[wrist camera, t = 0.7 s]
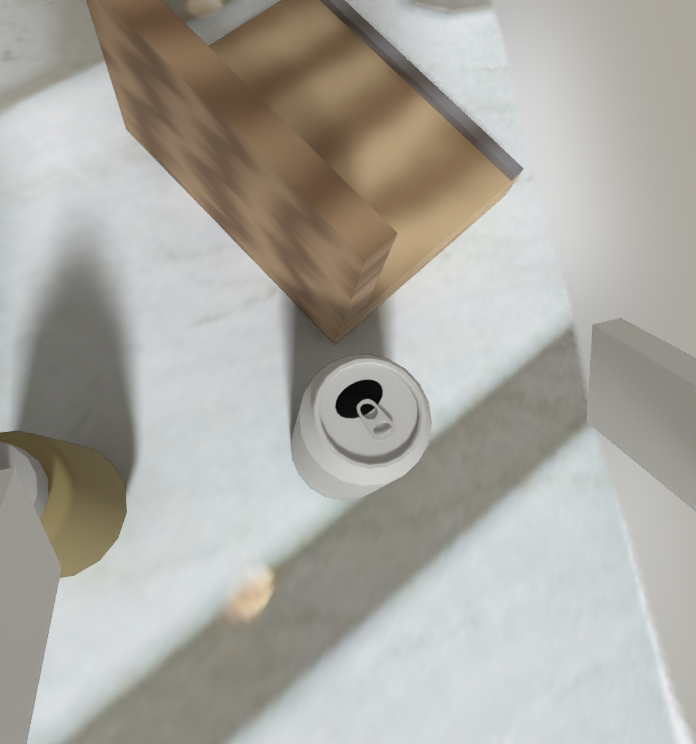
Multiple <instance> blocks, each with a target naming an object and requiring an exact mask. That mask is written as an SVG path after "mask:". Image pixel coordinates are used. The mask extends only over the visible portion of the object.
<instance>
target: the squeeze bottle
mask: <svg viewBox="0 0 696 744" xmlns="http://www.w3.org/2000/svg"><path fill="white" fill-rule="evenodd" d="M12 467H16V470H17V472H18V474H19V476H20V478H21V480H22V482H23V485H24V487H25V489H26V491H27V493H28V495H29V498H30V500H31V502H32V504H33V506H34V508H35V511H36V513H37V515H38V517H39V519H40V521H41V524H42V526H43V528H44V530H45V532H46V534H47V536H48V539H49V541H50V543H51V545H52V547H53V549H54V552H55V554H56V556H57V558H58V560H59V562H60V565H61V567H62V568H61V573H60V578H62V577H68V576H74V575H76V574H78V573H79V572H81V571H83V570H84V569H86V568H88V567H90V566H91V565H93V564H95V563H96V562H98V561H100V559H101V558H102V557H103V556H104V555H105V553H106V552H107V551H108V550H109V549H110V547H111V546H112V545H113V544H114V543H115V541H116V540H117V539H118V537H119V534H120V531H121V528H122V525H123V522H124V519H125V516H126V513H127V509H126V494H125V485H124V484H123V482H122V480H121V478H120V476H119V474H118V472H117V470H116V468H115V467H114V465H113V464H112V463H111V462H110V461H108V460H107V459H106V458H104V457H103V456H102V455H101V454H99V453H98V452H97V451H95V450H94V449H91V448H87V447H83V446H79V445H76V444H72V443H68V442H63V441H59V440H55V439H51V438H47V437H43V436H38V435H34V434H30V433H26V432H22V431H11V432H2V433H0V470H4V469H8V468H12Z"/></svg>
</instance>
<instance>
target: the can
mask: <svg viewBox="0 0 696 744" xmlns="http://www.w3.org/2000/svg"><path fill="white" fill-rule="evenodd" d="M431 424H432V421H431V414H430V408H429V402H428V400H427V398H426V396H425V394H424V392H423V390H422V388H421V386H420V384H419V383H418V382H417V381H416V380H415V379H414V377H413V376H412V375H411V374H410V373H409V372H408V371H407V370H406V369H405V368H403V367H401V366H399V365H398V364H396V363H394V362H393V361H391V360H389V359H386V358H382V357H378V356H374V355H369V354H365V355H351V356H346V357H344V358H341V359H339V360H336V361H334V362H331V363H329V364H328V365H327V366H326V367H324V368H323V369H322V370H321V371H320V372H319V373H317V374H316V375H315V376H314V377H313V379H312V381H311V382H310V384H309V386H308V387H307V389H306V390H305V392H304V394H303V398H302V401H301V405H300V409H299V412H298V416H297V419H296V423H295V427H294V431H293V436H292V440H291V449H292V460H293V462H294V464H295V467H296V469H297V471H298V473H299V475H300V477H301V478H302V479H303V480H304V481H305V482H306V483H307V485H308V486H309V487H310V488H311V489H313V490H315V491H317V492H318V493H320V494H322V495H323V496H325V497H329V498H334V499H338V500H350V499H359V498H361V497H363V496H365V495H368V494H370V493H372V492H374V491H376V490H378V489H379V488H381V487H383V486H385V485H387V484H389V483H390V482H392V481H394V480H396V479H398V478H399V477H401V476H403V475H405V474H406V473H407V472H408V471H409V470H410V469H411V468H412V467H413V466H414V465H415V464H416V463H417V462H418V461H419V460H420V458H421V456H422V454H423V452H424V450H425V448H426V447H427V445H428V443H429V437H430V430H431Z"/></svg>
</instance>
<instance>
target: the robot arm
mask: <svg viewBox="0 0 696 744" xmlns="http://www.w3.org/2000/svg"><path fill="white" fill-rule="evenodd" d="M587 423H589V424H590V425H591V426H592V427H594V428H595V429H596V430H597V431H598V432H600V433H601V434H602V435H603V436H605V437H606V438H607V439H608V440H609V441H611V442H612V443H613V444H614V445H616V446H617V447H618V448H619V449H621V450H622V451H623V452H624V453H625V454H626V455H628V456H629V457H630V458H631V459H633V460H634V461H635V462H636V463H638V464H639V465H640V466H641V467H642V468H644V469H645V470H646V471H647V472H649V473H650V474H651V475H652V476H653V477H655V478H656V479H657V480H658V481H659V482H661V483H662V484H663V485H664V486H666V487H667V488H668V489H669V490H670V491H672V492H673V493H674V494H675V495H677V496H678V497H679V498H680V499H681V500H683V501H684V502H685V503H686V504H687V505H689V506H690V507H691V508H692V509H694V510H695V511H696V358H695V357H693V356H691V355H689V354H687V353H685V352H683V351H681V350H680V349H678V348H676V347H674V346H672V345H670V344H668V343H667V342H665V341H663V340H661V339H659V338H657V337H655V336H653V335H651V334H650V333H648V332H646V331H644V330H642V329H640V328H639V327H637V326H635V325H633V324H631V323H629V322H627V321H625V320H623V319H622V318H619V319H615V320H611V321H607V322H602V323H598V324H594V325H593V327H592V344H591V360H590V376H589V392H588V409H587ZM61 568H62V567H61V565H60V562H59V560H58V558H57V556H56V554H55V552H54V549H53V547H52V545H51V543H50V541H49V539H48V536H47V534H46V532H45V530H44V528H43V526H42V524H41V521H40V519H39V517H38V515H37V513H36V511H35V508H34V506H33V504H32V502H31V500H30V498H29V495H28V493H27V491H26V489H25V487H24V485H23V482H22V480H21V478H20V476H19V474H18V472H17V470H16V467H12V468H8V469H4V470H0V744H27V739H28V734H29V729H30V724H31V719H32V714H33V709H34V703H35V698H36V693H37V688H38V683H39V678H40V673H41V668H42V663H43V658H44V653H45V648H46V643H47V638H48V633H49V628H50V623H51V618H52V613H53V608H54V603H55V598H56V593H57V588H58V583H59V578H60V573H61Z"/></svg>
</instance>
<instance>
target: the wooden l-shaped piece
mask: <svg viewBox="0 0 696 744" xmlns="http://www.w3.org/2000/svg"><path fill="white" fill-rule="evenodd" d="M86 1H87V4H88V7H89V11H90V14H91V17H92V20H93V24H94V27H95V30H96V33H97V36H98V40H99V43H100V46H101V49H102V52H103V56H104V59H105V62H106V65H107V68H108V72H109V75H110V78H111V81H112V85H113V88H114V91H115V94H116V97H117V101H118V104H119V107H120V110H121V113H122V117H123V120H124V123H125V126H126V129H127V130H128V131H129V132H130V133H131V135H132V136H133V137H134V138H135V139H136V140H137V141H138V142H139V143H140V144H141V145H142V146H143V147H144V148H145V149H146V150H147V151H148V152H149V153H150V154H151V155H152V156H153V157H154V158H155V159H156V160H157V161H158V162H159V163H160V164H161V165H162V166H163V168H164V169H165V170H166V171H167V172H168V173H169V174H170V175H171V176H172V177H173V178H174V179H175V180H176V181H177V182H178V183H179V184H180V185H181V186H182V187H183V188H184V189H185V190H186V191H187V192H188V193H189V194H190V195H191V196H192V197H193V198H194V199H195V201H196V202H197V203H198V204H199V205H200V206H201V207H202V208H203V209H204V210H205V211H206V212H207V213H208V214H209V215H210V216H211V217H212V218H213V219H214V220H215V221H216V222H217V223H218V224H219V225H220V226H221V227H222V228H223V229H224V230H225V231H226V232H227V233H228V235H229V236H230V237H231V238H232V239H233V240H234V241H235V242H236V243H237V244H238V245H239V246H240V247H241V248H242V249H243V250H244V251H245V252H246V253H247V254H248V255H249V256H250V257H251V258H252V259H253V260H254V261H255V262H256V263H257V264H258V265H259V266H260V268H261V269H262V270H263V271H264V272H265V273H266V274H267V275H268V276H269V277H270V278H271V279H272V280H273V281H274V282H275V283H276V284H277V285H278V286H279V287H280V288H281V289H282V290H283V291H284V292H285V293H286V294H287V295H288V296H289V297H290V298H291V299H292V301H293V302H294V303H295V304H296V305H297V306H298V307H299V308H300V309H301V310H302V311H303V312H304V313H305V314H306V315H307V316H308V317H309V318H310V319H311V320H312V321H313V322H314V323H315V324H316V325H317V326H318V327H319V328H320V329H321V330H322V331H323V332H324V334H325V335H326V336H327V337H328V338H329V339H330V340H331V341H332V342H333V343H334V344H336V343H337V342H338V341H340V340H341V339H342V338H343V337H344V336H345V335H346V334H348V333H349V332H350V331H351V330H352V329H353V328H354V327H356V326H357V325H358V324H359V323H360V322H361V321H362V320H364V319H365V318H366V317H367V316H368V315H369V314H370V313H372V312H373V311H374V310H375V309H376V308H377V307H378V306H380V305H381V304H382V303H383V302H384V301H385V300H386V299H388V298H389V297H390V296H391V295H392V294H393V293H394V292H395V291H397V290H398V289H399V288H400V287H401V286H402V285H403V284H405V283H406V282H407V281H408V280H409V279H410V278H411V277H413V276H414V275H415V274H416V273H417V272H418V271H419V270H421V269H422V268H423V267H424V266H425V265H426V264H427V263H429V262H430V261H431V260H432V259H433V258H434V257H435V256H437V255H438V254H439V253H440V252H441V251H442V250H443V249H445V248H446V247H447V246H448V245H449V244H450V243H451V242H453V241H454V240H455V239H456V238H457V237H458V236H459V235H460V234H462V233H463V232H464V231H465V230H466V229H467V228H468V227H470V226H471V225H472V224H473V223H474V222H475V221H476V220H478V219H479V218H480V217H481V216H482V215H483V214H484V213H486V212H487V211H488V210H489V209H490V208H491V207H492V206H494V205H495V204H496V203H497V202H498V201H499V200H500V199H502V198H503V197H504V196H505V195H506V193H507V192H508V191H509V189H510V188H511V186H512V185H513V183H514V182H515V180H516V179H517V177H518V176H519V174H520V173H521V172H522V170H523V168H522V167H521V166H520V165H519V164H518V163H517V162H516V161H515V160H514V159H513V158H512V157H511V156H510V155H509V154H508V153H506V152H505V151H504V150H503V149H502V148H501V147H500V146H499V145H498V144H497V143H496V142H495V141H494V140H493V139H492V138H490V137H489V136H488V135H487V134H486V133H485V132H484V131H483V130H482V129H481V128H480V127H479V126H478V125H477V124H476V123H474V122H473V121H472V120H471V119H470V118H469V117H468V116H467V115H466V114H465V113H464V112H463V111H462V110H461V109H460V108H459V107H457V106H456V105H455V104H454V103H453V102H452V101H451V100H450V99H449V98H448V97H447V96H446V95H445V94H444V93H443V92H441V91H440V90H439V89H438V88H437V87H436V86H435V85H434V84H433V83H432V82H431V81H430V80H429V79H428V78H427V77H426V76H424V75H423V74H422V73H421V72H420V71H419V70H418V69H417V68H416V67H415V66H414V65H413V64H412V63H411V62H410V61H408V60H407V59H406V58H405V57H404V56H403V55H402V54H401V53H400V52H399V51H398V50H397V49H396V48H395V47H394V46H392V45H391V44H390V43H389V42H388V41H387V40H386V39H385V38H384V37H383V36H382V35H381V34H380V33H379V32H378V31H377V30H375V29H374V28H373V27H372V26H371V25H370V24H369V23H368V22H367V21H366V20H365V19H364V18H363V17H362V16H361V15H359V14H358V13H357V12H356V11H355V10H354V9H353V8H352V7H351V6H350V5H349V4H348V3H347V2H346V1H345V0H281V1H279V2H278V3H276V4H275V5H273V6H272V7H270V8H268V9H267V10H265V11H264V12H262V13H260V14H259V15H257V16H256V17H254V18H252V19H251V20H249V21H248V22H246V23H245V24H243V25H241V26H240V27H238V28H237V29H235V30H233V31H232V32H230V33H229V34H227V35H226V36H224V37H222V38H221V39H219V40H218V41H216V42H214V43H213V44H211V45H210V46H207V45H206V44H205V43H204V42H203V41H202V40H201V39H200V38H199V37H198V36H197V35H196V34H195V33H194V32H193V31H192V30H191V29H190V28H189V27H188V26H187V25H186V24H185V23H184V22H183V21H182V20H181V19H180V18H179V17H178V16H177V15H176V14H175V13H174V12H173V11H172V10H171V9H170V8H169V7H168V6H167V5H166V4H165V3H164V2H163V1H162V0H86Z"/></svg>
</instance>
